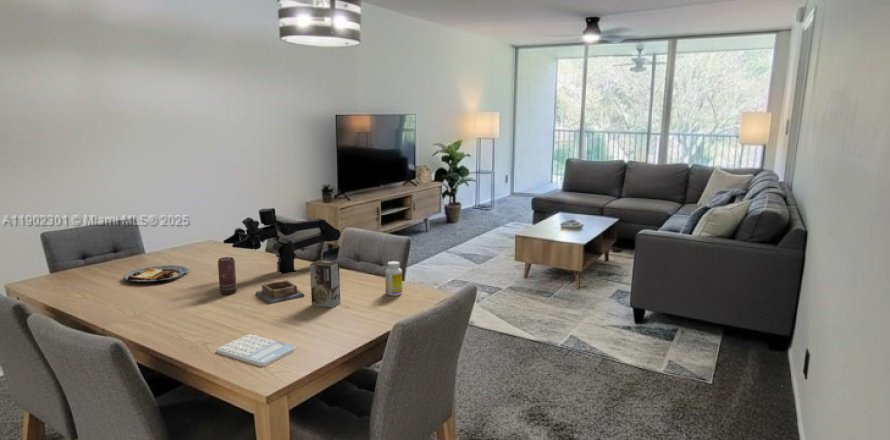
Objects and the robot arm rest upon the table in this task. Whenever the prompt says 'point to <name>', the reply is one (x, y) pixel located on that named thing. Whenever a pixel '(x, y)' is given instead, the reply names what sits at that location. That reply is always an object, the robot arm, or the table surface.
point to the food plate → (156, 273)
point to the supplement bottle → (393, 279)
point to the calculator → (256, 350)
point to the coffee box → (325, 283)
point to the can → (227, 275)
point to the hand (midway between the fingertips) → (227, 244)
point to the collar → (279, 292)
